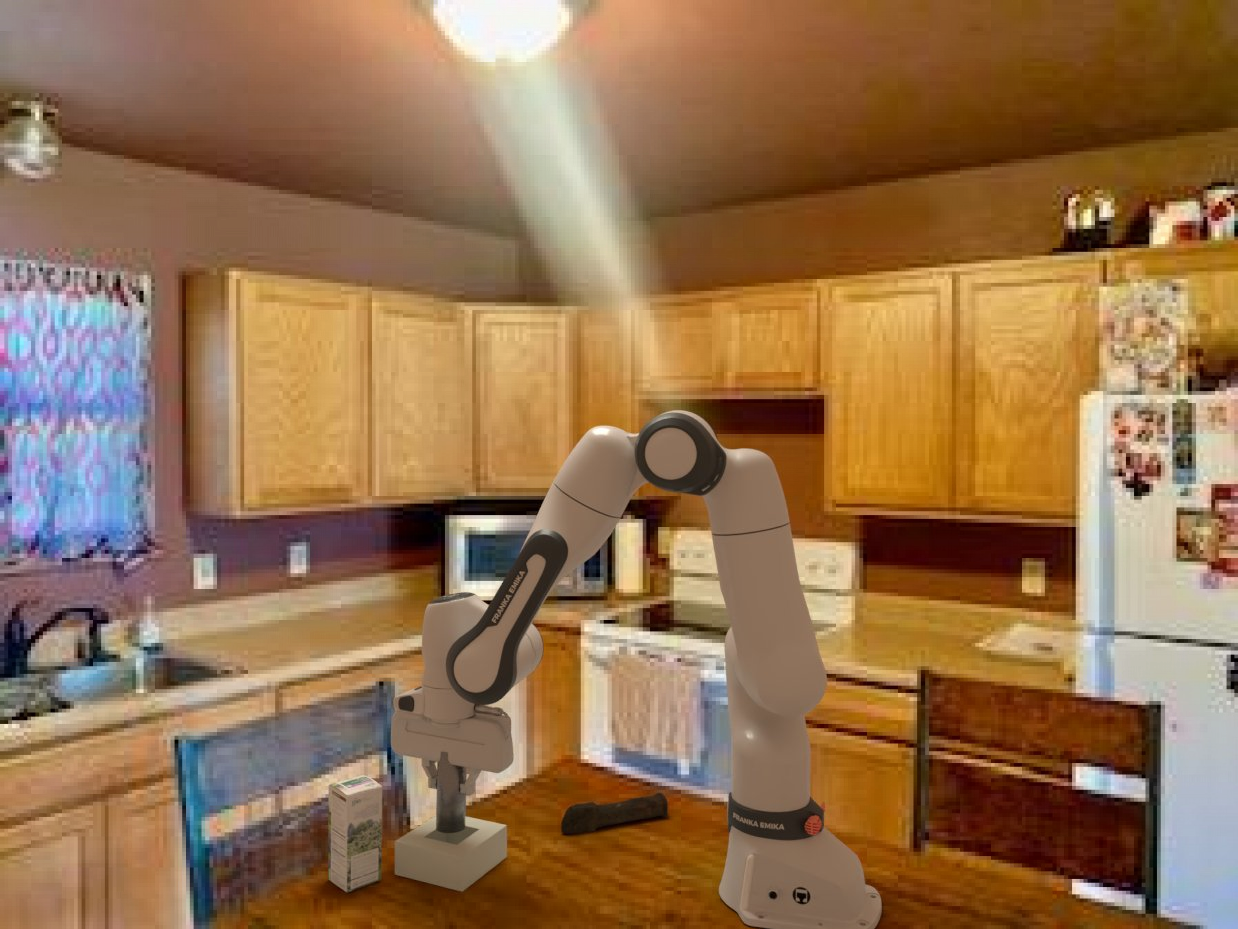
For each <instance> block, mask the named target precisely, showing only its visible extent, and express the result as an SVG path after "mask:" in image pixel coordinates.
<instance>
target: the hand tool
mask: <svg viewBox="0 0 1238 929" xmlns="http://www.w3.org/2000/svg"><path fill="white" fill-rule="evenodd" d="M668 806H669V804H668V799H667V797H666V795H664V794H663V792H657V793H655V794H653V795H649V796H640V797H635V798H628V799H627V800H623V801H617V802H612V803H610V802H609V803H603V804H602V803H601V804H596V803H595V802H594V801H589V802H586V803H585V802H583V803H577V804H573V805H570V806H569V807H568V808H567V809H566V810H565V812H564V815H563V817H562V819H561V824H560V826H561V827H560V830H561V831H560V832H561V833H562V834H566V835H567V834H570V835H571V834H573V835H574V834H575V835H576V834H577V833H578V834H583V833H593V832H596V831H597V830H598V829H599V828H602V827H607V826H612V825H618V824H623V823H627V822H634V821H639V820H640V821H641V820H648V819H653V818H656V817H661V818H663V819H667V817H668V810H669V809H668V808H669V807H668Z"/></svg>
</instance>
